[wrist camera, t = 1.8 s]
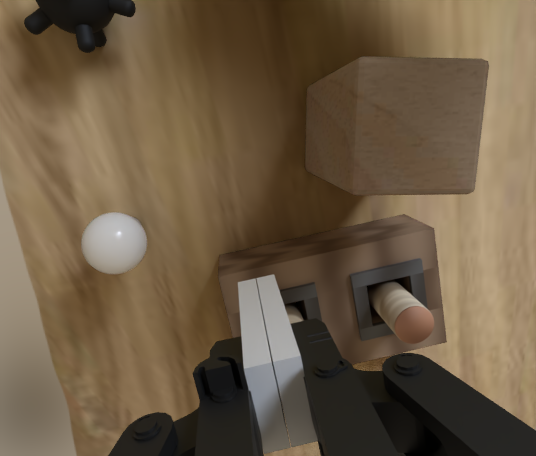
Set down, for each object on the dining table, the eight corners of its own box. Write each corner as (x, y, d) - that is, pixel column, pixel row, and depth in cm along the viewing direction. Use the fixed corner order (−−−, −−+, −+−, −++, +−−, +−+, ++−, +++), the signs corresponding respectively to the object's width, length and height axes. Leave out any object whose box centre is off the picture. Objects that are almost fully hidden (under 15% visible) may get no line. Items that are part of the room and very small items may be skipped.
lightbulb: (115, 192, 50) (84, 208, 39) (166, 212, 51) (150, 234, 40) (97, 240, 51) (62, 269, 40) (147, 259, 52) (126, 292, 41)
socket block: (243, 353, 56) (246, 393, 47) (219, 255, 52) (217, 278, 44) (416, 313, 57) (449, 344, 48) (404, 214, 53) (436, 229, 45)
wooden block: (383, 171, 52) (476, 195, 33) (304, 171, 51) (351, 196, 32) (389, 86, 50) (492, 57, 30) (306, 85, 49) (357, 54, 29)
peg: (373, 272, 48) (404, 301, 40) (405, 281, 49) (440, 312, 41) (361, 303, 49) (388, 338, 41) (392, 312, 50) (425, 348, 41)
